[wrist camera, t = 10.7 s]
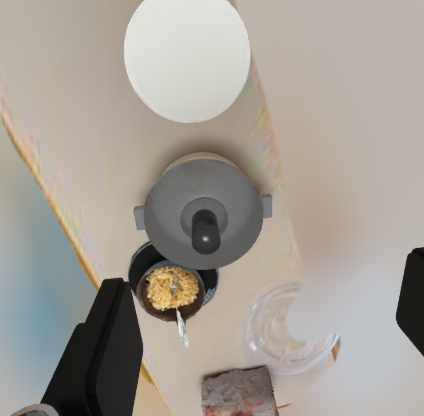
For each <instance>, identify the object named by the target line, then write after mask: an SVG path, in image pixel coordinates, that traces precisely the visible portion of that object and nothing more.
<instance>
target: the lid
mask: <svg viewBox="0 0 424 416" xmlns="http://www.w3.org/2000/svg"><path fill="white" fill-rule="evenodd" d="M262 223H263V206H262V201H261V198H260V195H259V193H258V191H257V189H256V188H255V186H254V184H253V183H252V181H251V180H250V179H249V177H247V176H246V175H245V174H244V173H243V172H242V171H241V170H239V169H238V168H237V167H235V166H233V165H231V164H229V163H226V162H224V161H220V160H216V159H208V158H202V159H193V160H188V161H185V162H182V163H179V164H177V165H175V166H173V167H172V168H170V169H168V170H167V171H166V172H165V173H163V174H162V175H161V176H160V177H159V178H158V179H157V181H156V182H155V183H154V185H153V186H152V188H151V190H150V192H149V195H148V197H147V200H146V203H145V208H144V225H145V229H146V232H147V235H148V237H149V239H150V241H151V243H152V244H153V246H154V247H155V248H156V250H157V251H158V252H159V253H160V254H161V255H163V256H164V257H165V258H166V259H168V260H169V261H171V262H173V263H175V264H177V265H179V266H182V267H186V268H190V269H197V270H209V269H215V268H219V267H223V266H226V265H228V264H231V263H232V262H234V261H236V260H238V259H239V258H240V257H242V256H243V255H244V254H245V253H246V252H248V250H249V249H250V248H251V247H252V246H253V244H254V243H255V241H256V240H257V238H258V236H259V234H260V231H261V228H262Z"/></svg>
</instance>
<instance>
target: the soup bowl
mask: <svg viewBox="0 0 424 416" xmlns="http://www.w3.org/2000/svg"><path fill="white" fill-rule="evenodd" d="M128 277H129V283H130V287H131V289H132V291H133V293H134V295H135V296H136V297H137V299H138V301H139V303H140V305H141V306H142V308H143V309H144V310H145V311H146V312H147V313H149V314H150V315H152V316H154V317H156V318H158V319H161V320H163V321H167V322H169V321H176V323H177V325H178V328H179V332H180V337H181V341H182V343H183V345H184V347H185V348H187V347H189V341H188V338H187V333H186V326H185V323H186V320H187V319H188V318H191V317H192V316H194V315H195V314H196V313H197V311H198V310H199V309H200V308H201V307H202V306H204V305H205V304H206V303H208V302H209V301H210V300H211V299H212V297H213V296H214V294H215V292H216V289H217V285H218V280H219V278H218V271H217V268H215V269H209V270H197V269H190V268H186V267H182V266H179V265H177V264H175V263H173V262H171V261H169V260H168V259H166V258H165V257H164V256H163V255H161V254H160V253H159V252H158V251H157V250H156V248H155V247H154V246H153V244H152V243H151V242H149V243H148V244H146V245H144V246H143V247H141V248H140V249H139V250H138V251H137V252H136V253H135V254H134V256H133V257H132V260H131V263H130V267H129V271H128Z"/></svg>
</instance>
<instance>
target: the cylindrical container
mask: <svg viewBox="0 0 424 416" xmlns="http://www.w3.org/2000/svg"><path fill="white" fill-rule="evenodd" d="M250 54H251V52H250V44H249V38H248V35H247V31H246V28H245V25H244V23H243V22H242V19H241V18H240V16H239V14H238V12H237V11H236V10H235V8H234V7H233V6H232V5H231V4H230V3H229V2H228V0H144V1H143V2H142V3H141V4H140V6H139V7H138V8H137V10H136V11H135V12H134V14H133V16H132V18H131V20H130V22H129V25H128V28H127V32H126V36H125V42H124V59H125V66H126V70H127V73H128V77H129V80H130V82H131V84H132V86H133V88H134V90H135V92H136V93H137V94H138V96H139V97H140V98H141V100H142V101H143V102H144V103H145V104H146V105H147V106H148V107H149V108H150V109H152V110H153V111H154V112H156V113H157V114H159V115H161V116H162V117H164V118H167V119H170V120H172V121H176V122H182V123H197V122H202V121H207V120H209V119H211V118H213V117H216V116H218V115H219V114H221V113H222V112H223V111H225V110H226V109H228V108H229V107H230V106H231V104H232V103H233V102H234V101H235V100H236V99H237V97H238V96H239V94H240V93H241V91H242V89H243V87H244V85H245V82H246V80H247V77H248V72H249V68H250Z"/></svg>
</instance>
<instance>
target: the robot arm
mask: <svg viewBox="0 0 424 416" xmlns="http://www.w3.org/2000/svg"><path fill="white" fill-rule="evenodd" d="M396 321H397V324H398V325H399V327H400V328H401V330H402V331H403V332H404V333H405V335H406V336H407V337H408V338H409V339H410V341H411V342H412V343H413V344H414V345H415V347H416V348H417V349H418V350H419V351H420V352H421V354H422V355H423V356H424V247H422V248H415V249H413V250H412V252H411V253H410V254H408V256H407V260H406V265H405V271H404V276H403V281H402V286H401V291H400V296H399V302H398V307H397V312H396ZM142 355H143V342H142V337H141V333H140V328H139V324H138V319H137V315H136V310H135V305H134V301H133V296H132V292H131V287H130V283H129V282H128V281H127V282H124V280H123V278H112V279H105V280H103V282H102V284H101V287H100V289H99V291H98V294H97V296H96V298H95V301H94V303H93V305H92V308H91V310H90V312H89V315H88V317H87V319H86V321H85V323H79V324H78V325H77V326H76V328H75V329H74V331H73V334H72V336H71V338H70V340H69V342H68V344H67V346H66V349H65V351H64V353H63V355H62V357H61V359H60V362H59V364H58V366H57V368H56V370H55V372H54V375H53V377H52V379H51V381H50V383H49V385H48V388H47V390H46V392H45V394H44V396H43V398H42V400H41V402H40V404H34V405H31V406H27V407H24V408H23V409H21V410H19V411H17V412H15V413H14V414H12V415H11V416H132V412H133V406H134V400H135V395H136V390H137V384H138V378H139V373H140V367H141V361H142Z"/></svg>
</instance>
